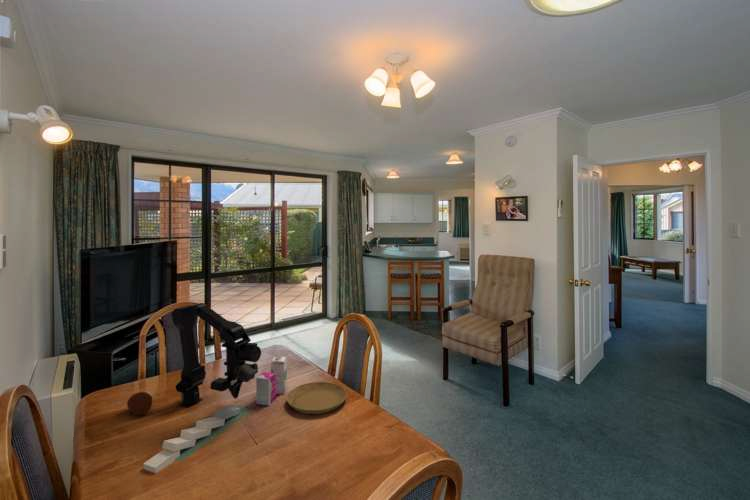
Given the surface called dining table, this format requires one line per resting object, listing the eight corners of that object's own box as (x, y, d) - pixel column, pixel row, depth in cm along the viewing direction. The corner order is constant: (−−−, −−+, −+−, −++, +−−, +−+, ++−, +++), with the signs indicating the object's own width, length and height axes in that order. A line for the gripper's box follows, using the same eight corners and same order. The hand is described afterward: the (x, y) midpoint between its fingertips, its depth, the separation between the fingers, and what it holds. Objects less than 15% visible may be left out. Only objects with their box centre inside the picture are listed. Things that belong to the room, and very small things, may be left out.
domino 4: (213, 422, 126) (195, 426, 119) (214, 416, 127) (196, 420, 120) (223, 425, 125) (206, 429, 117) (225, 419, 125) (207, 423, 118)
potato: (142, 403, 140) (141, 384, 140) (160, 410, 135) (159, 391, 135) (121, 413, 134) (120, 393, 133) (139, 420, 128) (138, 399, 128)
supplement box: (269, 406, 138) (268, 378, 137) (256, 405, 139) (255, 377, 138) (276, 399, 144) (275, 372, 143) (263, 398, 145) (262, 371, 144)
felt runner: (157, 455, 109) (157, 454, 109) (232, 405, 139) (232, 405, 139) (180, 462, 105) (180, 461, 105) (252, 410, 135) (252, 409, 135)
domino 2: (183, 442, 115) (162, 447, 107) (184, 435, 115) (163, 440, 108) (194, 445, 113) (173, 451, 106) (196, 439, 113) (175, 444, 106)
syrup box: (273, 388, 154) (273, 356, 153) (287, 387, 154) (286, 356, 153) (271, 394, 148) (270, 361, 147) (285, 394, 148) (284, 361, 147)
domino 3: (199, 431, 121) (179, 437, 113) (200, 425, 121) (181, 430, 114) (210, 435, 119) (191, 440, 112) (211, 428, 119) (192, 433, 112)
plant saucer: (335, 384, 158) (335, 377, 158) (355, 409, 136) (355, 401, 136) (281, 395, 148) (281, 387, 148) (293, 424, 126) (293, 415, 126)
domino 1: (168, 452, 110) (144, 469, 102) (168, 446, 109) (143, 463, 102) (180, 455, 108) (156, 474, 100) (179, 449, 108) (155, 467, 100)
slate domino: (229, 411, 134) (213, 416, 127) (230, 405, 134) (214, 411, 127) (240, 413, 132) (224, 419, 125) (240, 408, 133) (225, 413, 125)
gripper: (233, 371, 121) (234, 414, 122) (267, 352, 138) (268, 390, 139) (208, 366, 125) (210, 408, 126) (245, 349, 142) (246, 386, 143)
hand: (235, 398), depth 133 cm, fingers closed
